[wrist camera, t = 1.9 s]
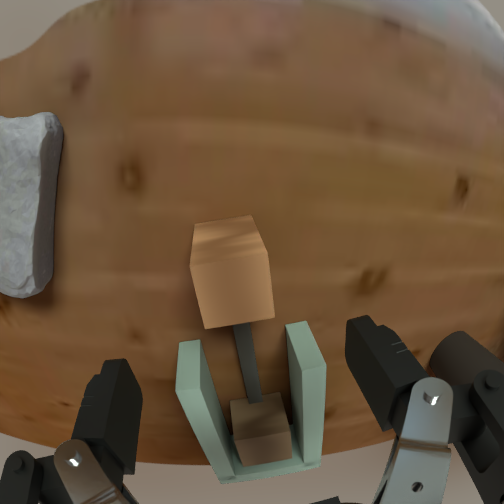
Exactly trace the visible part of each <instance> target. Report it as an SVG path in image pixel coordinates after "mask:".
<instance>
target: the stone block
mask: <svg viewBox="0 0 504 504" xmlns="http://www.w3.org/2000/svg"><path fill="white" fill-rule="evenodd" d="M62 141H63V127H62V126H61V124H60V122H59V119H58V117H57V116H56V115H54V114H53V113H51V112H42V113H38V114H35V115H33V116H30V117H22V118H21V117H17V118H6V117H3V116H0V292H1V293H3V294H6V295H8V296H11V297H18V298H26V297H29V296H32V295H35V294H38V293H39V292H41V291H42V290H43V289H44V288H45V285H46V284H47V283H48V282H49V281H50V279H51V278H52V275H53V264H54V261H53V251H54V250H53V245H54V214H55V198H56V188H57V175H58V170H59V161H60V154H61V149H62Z"/></svg>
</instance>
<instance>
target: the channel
mask: <svg viewBox="0 0 504 504" xmlns="http://www.w3.org/2000/svg"><path fill="white" fill-rule="evenodd" d="M285 327H286V339H287V351H288V363H289V376H290V390H291V404H292V418H293V424H292V425H289V427H290V432H291V445H292V459H287V460H282V461H276V462H271V463H265V464H259V465H253V466H246V467H243V464H242V462H241V459H240V456H239V453H238V450H237V447H236V445H235V442H234V435H230V433H229V430H228V427H227V424H226V421H225V418H224V415H223V412H222V409H221V406H220V403H219V400H218V397H217V394H216V391H215V387H214V384H213V381H212V378H211V374H210V371H209V368H208V365H207V361H206V358H205V354H204V351H203V348H202V344H201V341H200V339H199V340H192V341H185V342H179V352H178V364H177V376H176V390H175V391H176V393H177V396H178V398H179V400H180V403H181V405H182V407H183V409H184V411H185V414H186V416H187V418H188V420H189V422H190V424H191V426H192V428H193V431H194V433H195V435H196V437H197V439H198V441H199V443H200V445H201V447H202V449H203V451H204V453H205V455H206V457H207V459H208V460H209V462H210V464H211V466H212V468H213V470H214V472H215V474H216V475H217V477H218V479H219V481H220V483H221V484H225V483H233V482H241V481H250V480H256V479H262V478H268V477H274V476H280V475H285V474H289V473H294V472H299V471H303V470H308V469H312V468H316V467H320V463H321V452H322V439H323V425H324V409H325V389H326V363H325V361H324V359H323V357H322V354H321V352H320V350H319V348H318V346H317V343H316V341H315V339H314V337H313V335H312V332H311V330H310V328H309V326H308V324H307V322H306V321H303V322H298V323H293V324H288V325H285Z"/></svg>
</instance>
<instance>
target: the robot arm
mask: <svg viewBox="0 0 504 504" xmlns="http://www.w3.org/2000/svg"><path fill="white" fill-rule="evenodd" d="M345 357H346V362H347V365H348V367H349V369H350V371H351V372H352V374H353V376H354V378H355V380H356V382H357V384H358V385H359V387H360V389H361V391H362V393H363V395H364V397H365V399H366V400H367V402H368V404H369V406H370V408H371V410H372V412H373V414H374V415H375V417H376V419H377V421H378V423H379V425H380V427H381V429H382V431H383V432H384V431H386V430H389V429H392V428H393V429H394V431H395V433H396V436H395V439H394V443H393V446H392V449H391V453H390V456H389V459H388V462H387V465H386V468H385V471H384V474H383V477H382V480H381V483H380V485H379V488H378V490H377V492H376V494H375V497H374V499H373V502H372V504H441V503H442V499H443V495H444V490H445V486H446V481H447V476H448V471H449V466H450V460H451V449H450V448H448V444H449V443H453V444H454V446H455V448H456V450H457V451H458V453H459V455H460V457H461V459H462V461H463V463H464V465H465V467H466V468H467V470H468V472H469V474H470V476H471V478H472V480H473V482H474V484H475V486H476V488H477V490H478V492H479V494H480V496H481V498H482V500H483V502H484V504H504V375H503V374H502V373H500V372H498V371H496V370H490V369H489V370H483V371H481V372H479V373H478V374H477V375H476V377H475V379H474V381H473V383H468V384H462V385H455V386H450V385H449V384H448V383H447V382H445V381H444V380H442V379H439V378H434V377H430V376H429V375H428V374H427V373H426V371H425V370H424V369H423V367H422V366H421V365H420V363H419V362H418V361H417V359H416V358H415V357H414V356H413V354H412V353H411V352H410V350H408V349H407V347H406V345H405V344H404V343H402V340H401V339H400V338H399V336H398V335H397V334H396V333H395V331H393V330H391V329H390V328H388V327H386V326H384V325H380V326H376V324H375V323H374V322H373V320H372V319H371V318H370V316H368V315H365V316H361V317H357V318H353V319H349V320H348V321H347V324H346V342H345ZM142 403H143V398H142V392H141V388H140V386H139V384H138V382H137V380H136V378H135V376H134V374H133V372H132V370H131V368H130V366H129V364H128V362H127V360H126V359H124V358H123V359H113V360H105V361H104V363H103V366H102V370H101V373H100V374H98V375H94V377H93V378H92V379H91V380H90V382H89V383H88V384H87V387H86V390H85V393H84V398H83V399H82V402H81V407H80V409H79V412H78V416H77V419H76V423H75V426H74V430H73V433H72V437H71V440H67V441H65V442H63V443H62V444H61V445H59V447H58V448H57V449H56V451H55V453H54V455H51V456H47V457H42V458H38V459H35V458H34V457H33V456H32V455H31V454H29V453H28V452H26V451H23V450H20V451H16V452H14V453H12V454H11V455H10V456H9V457H8V458H7V460H6V462H5V465H4V469H3V473H2V476H1V480H0V504H38V503H40V504H139V503H138V502H137V500H136V499H135V498H134V497H133V495H132V494H131V493H130V491H129V490H128V489H127V487H126V486H125V485H124V484H123V474H131V475H134V473H135V462H136V452H137V443H138V434H139V426H140V418H141V410H142ZM311 504H360V503H340V501H339V498H338V496H337V497H333V498H330V499H327V500H323V501H319V502H315V503H311Z"/></svg>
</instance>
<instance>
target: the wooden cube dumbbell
mask: <svg viewBox="0 0 504 504" xmlns="http://www.w3.org/2000/svg"><path fill="white" fill-rule="evenodd" d="M190 270H191V274H192V279H193V283H194V287H195V291H196V295H197V299H198V303H199V307H200V311H201V315H202V319H203V323H204V327H205V329H210V328H216V327H222V326H229V325H233V330H234V335H235V340H236V345H237V350H238V355H239V359H240V364H241V369H242V373H243V378H244V383H245V387H246V392H247V396H248V398H243V399H236V400H230V408H231V417H232V426H233V435H234V442H235V445H236V447H237V450H238V453H239V456H240V459H241V462H242V464H243V467H246V466H253V465H259V464H265V463H271V462H276V461H282V460H287V459H292V445H291V432H290V427H289V424H288V420H287V416H286V413H285V409H284V405H283V401H282V398H281V394H280V392H276V393H271V394H266V395H262V393H261V388H260V382H259V376H258V370H257V364H256V358H255V352H254V346H253V340H252V334H251V328H250V322H252V321H258V320H264V319H269V318H274V317H275V314H274V305H273V296H272V287H271V278H270V269H269V260H268V253H267V251H266V248H265V246H264V244H263V241H262V239H261V237H260V234H259V232H258V230H257V227H256V225H255V223H254V220H253V218H252V216H251V215H246V216H240V217H234V218H228V219H222V220H216V221H210V222H204V223H198V224H195V227H194V235H193V243H192V251H191V259H190Z"/></svg>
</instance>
